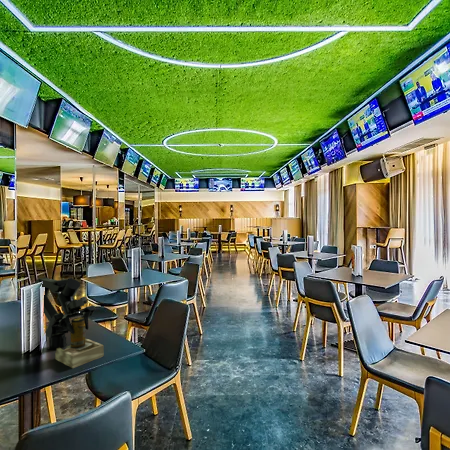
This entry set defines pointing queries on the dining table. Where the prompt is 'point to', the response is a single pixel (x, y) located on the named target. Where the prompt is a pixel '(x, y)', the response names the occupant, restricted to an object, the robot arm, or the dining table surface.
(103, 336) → the dining table surface
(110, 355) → the dining table surface
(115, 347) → the dining table surface
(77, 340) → the condiment
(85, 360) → the tan square tray
